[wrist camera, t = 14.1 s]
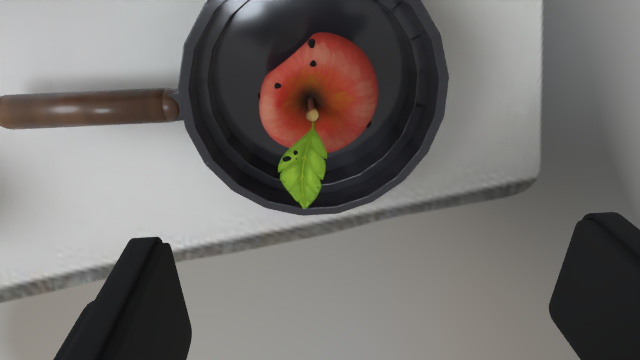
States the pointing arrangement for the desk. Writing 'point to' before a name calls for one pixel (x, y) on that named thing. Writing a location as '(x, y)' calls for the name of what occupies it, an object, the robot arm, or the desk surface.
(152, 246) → the robot arm
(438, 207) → the desk surface
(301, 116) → the apple
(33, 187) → the desk surface
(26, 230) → the desk surface
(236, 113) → the pan
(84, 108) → the pan handle
